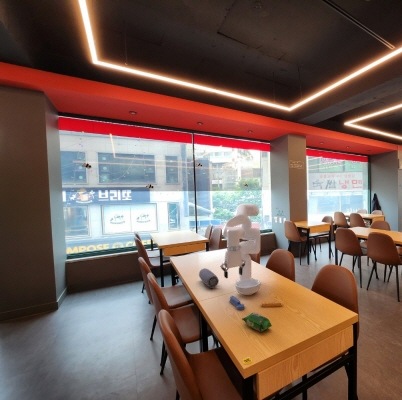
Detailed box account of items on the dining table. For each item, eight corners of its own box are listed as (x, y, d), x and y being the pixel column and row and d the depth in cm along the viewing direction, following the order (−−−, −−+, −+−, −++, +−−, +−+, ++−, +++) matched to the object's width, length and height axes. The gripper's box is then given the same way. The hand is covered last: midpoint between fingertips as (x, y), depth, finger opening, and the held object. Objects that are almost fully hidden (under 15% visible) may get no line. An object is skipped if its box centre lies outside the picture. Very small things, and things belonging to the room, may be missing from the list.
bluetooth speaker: (219, 287, 166) (219, 274, 166) (206, 290, 161) (206, 276, 161) (209, 278, 185) (209, 266, 185) (198, 281, 180) (198, 268, 180)
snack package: (250, 318, 123) (250, 309, 123) (272, 328, 113) (272, 318, 113) (241, 324, 118) (240, 314, 118) (263, 335, 108) (263, 324, 108)
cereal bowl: (250, 286, 169) (250, 276, 169) (265, 292, 157) (265, 282, 157) (231, 293, 157) (230, 282, 157) (245, 300, 145) (245, 289, 145)
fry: (261, 306, 137) (261, 303, 137) (261, 305, 139) (261, 302, 139) (281, 306, 137) (281, 303, 137) (281, 304, 139) (281, 301, 139)
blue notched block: (228, 302, 143) (228, 297, 143) (234, 300, 146) (234, 295, 146) (239, 310, 132) (238, 305, 132) (245, 308, 135) (245, 303, 135)
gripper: (242, 245, 149) (243, 272, 148) (217, 249, 138) (217, 277, 138) (248, 247, 143) (248, 274, 142) (222, 251, 132) (222, 280, 132)
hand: (233, 276), depth 140 cm, fingers open, 9 cm apart
